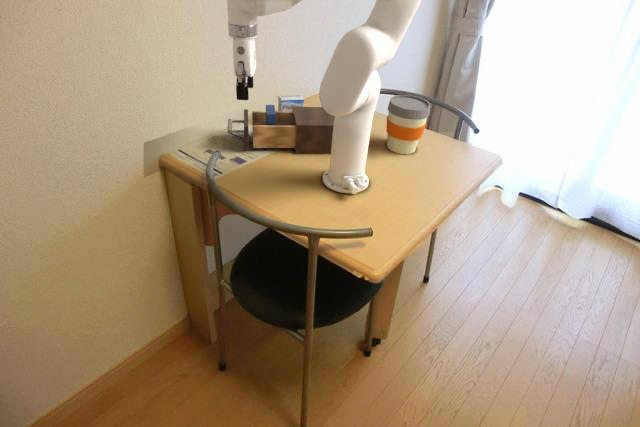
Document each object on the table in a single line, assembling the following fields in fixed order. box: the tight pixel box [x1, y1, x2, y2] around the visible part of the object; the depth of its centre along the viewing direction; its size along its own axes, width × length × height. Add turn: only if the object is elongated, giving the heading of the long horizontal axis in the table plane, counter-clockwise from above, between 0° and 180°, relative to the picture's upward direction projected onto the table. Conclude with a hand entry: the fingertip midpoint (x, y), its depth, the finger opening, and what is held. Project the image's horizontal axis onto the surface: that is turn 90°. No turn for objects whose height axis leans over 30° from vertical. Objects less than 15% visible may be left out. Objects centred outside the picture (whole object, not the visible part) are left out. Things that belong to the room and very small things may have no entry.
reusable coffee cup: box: [386, 94, 431, 155], centre depth 136 cm, size 12×12×15 cm
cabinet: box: [292, 106, 335, 155], centre depth 136 cm, size 19×14×9 cm
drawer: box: [226, 108, 296, 151], centre depth 134 cm, size 22×12×7 cm, turn 98°
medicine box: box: [277, 95, 305, 112], centre depth 148 cm, size 8×4×9 cm, turn 105°
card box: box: [265, 104, 276, 125], centre depth 133 cm, size 3×7×9 cm, turn 8°
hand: (245, 93), depth 126 cm, fingers open, 9 cm apart
